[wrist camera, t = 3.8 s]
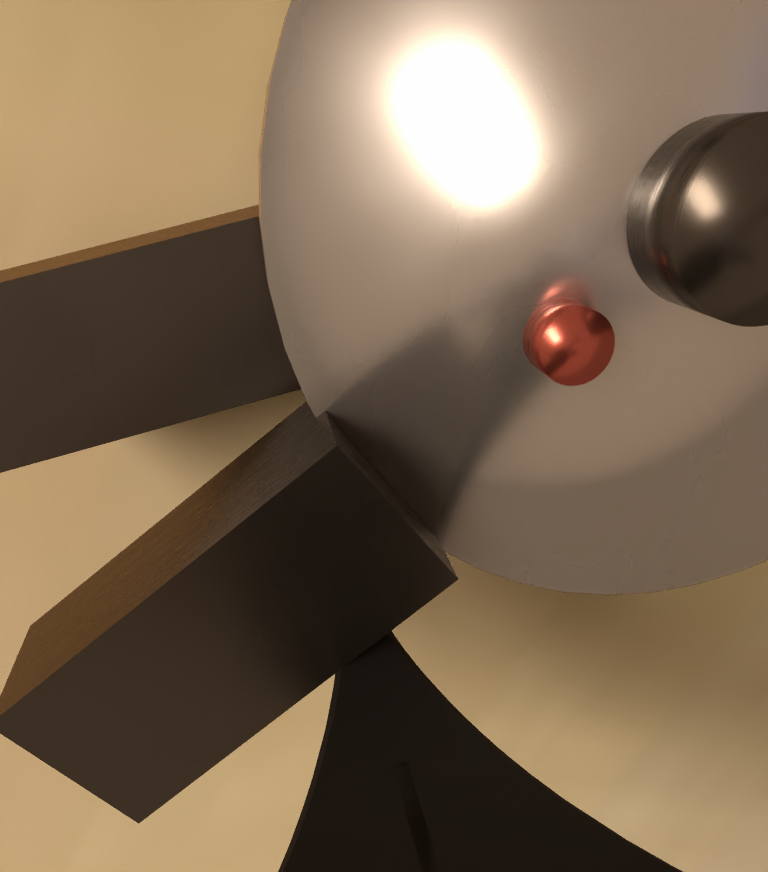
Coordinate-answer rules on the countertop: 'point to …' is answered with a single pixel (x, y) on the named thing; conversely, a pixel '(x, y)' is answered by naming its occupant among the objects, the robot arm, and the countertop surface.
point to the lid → (450, 364)
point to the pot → (136, 337)
